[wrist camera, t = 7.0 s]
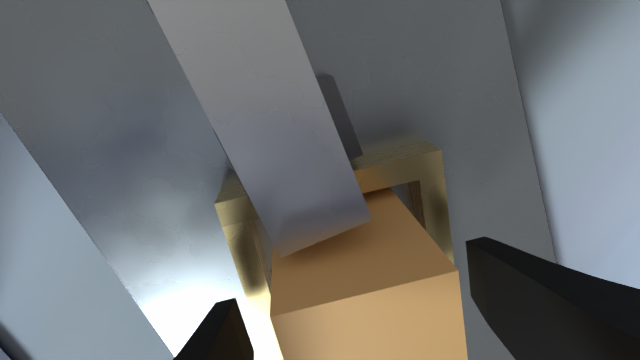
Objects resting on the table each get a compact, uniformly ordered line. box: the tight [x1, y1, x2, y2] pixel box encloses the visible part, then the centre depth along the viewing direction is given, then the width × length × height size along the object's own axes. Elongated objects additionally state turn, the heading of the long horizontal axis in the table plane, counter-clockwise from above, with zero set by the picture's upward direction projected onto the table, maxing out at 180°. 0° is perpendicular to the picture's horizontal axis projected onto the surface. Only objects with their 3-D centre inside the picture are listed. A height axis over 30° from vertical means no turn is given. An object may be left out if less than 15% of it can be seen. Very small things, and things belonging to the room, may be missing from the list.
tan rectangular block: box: [270, 187, 468, 360], centre depth 11 cm, size 4×4×6 cm
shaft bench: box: [0, 0, 556, 360], centre depth 12 cm, size 15×26×5 cm, turn 22°
